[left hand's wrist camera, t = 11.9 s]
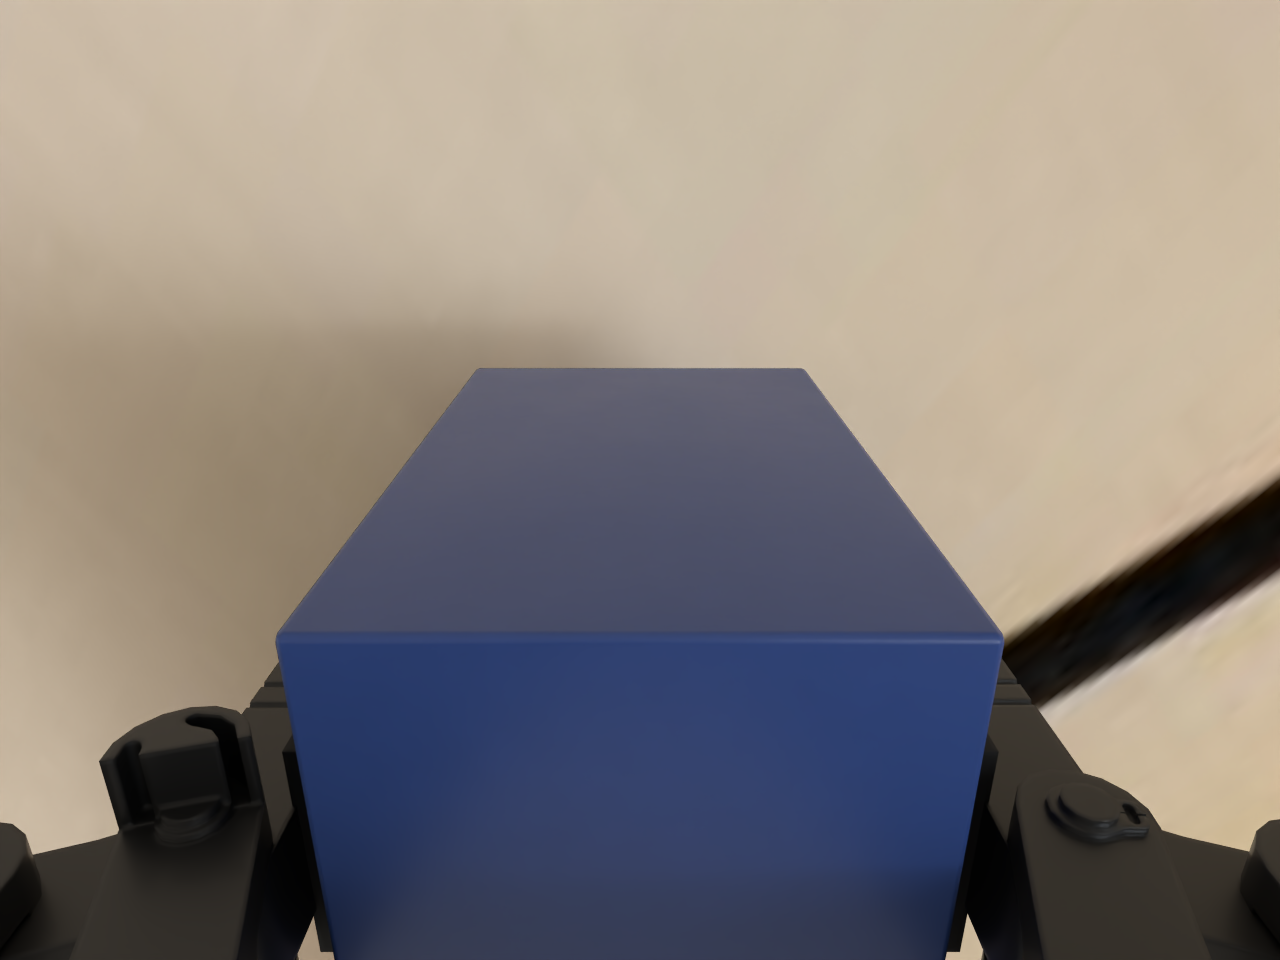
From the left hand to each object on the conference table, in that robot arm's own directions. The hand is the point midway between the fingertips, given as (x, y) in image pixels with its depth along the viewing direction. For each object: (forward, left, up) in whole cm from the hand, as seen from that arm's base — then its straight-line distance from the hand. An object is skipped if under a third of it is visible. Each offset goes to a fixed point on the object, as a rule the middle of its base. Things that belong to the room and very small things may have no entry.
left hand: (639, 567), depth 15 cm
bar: (+9, 0, -1) cm, 10 cm away
